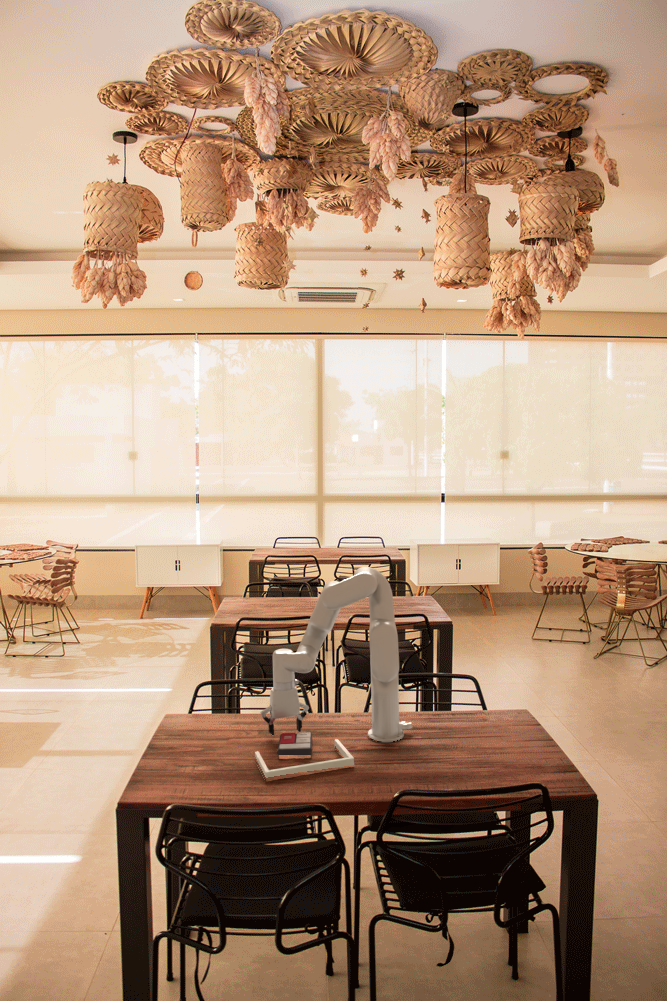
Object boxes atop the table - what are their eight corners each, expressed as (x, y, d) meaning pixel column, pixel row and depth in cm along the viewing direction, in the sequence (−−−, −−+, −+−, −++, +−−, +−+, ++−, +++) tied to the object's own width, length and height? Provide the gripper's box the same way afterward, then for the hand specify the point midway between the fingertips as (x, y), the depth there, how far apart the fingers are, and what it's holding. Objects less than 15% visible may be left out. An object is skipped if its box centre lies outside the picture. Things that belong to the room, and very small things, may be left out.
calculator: (312, 730, 246) (311, 746, 231) (312, 743, 247) (311, 759, 232) (280, 731, 246) (277, 747, 231) (280, 744, 246) (277, 760, 231)
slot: (338, 747, 240) (337, 739, 239) (354, 767, 224) (353, 758, 224) (255, 760, 231) (254, 751, 231) (266, 782, 216) (265, 772, 215)
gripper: (305, 678, 255) (306, 725, 256) (257, 684, 250) (259, 732, 251) (310, 685, 248) (312, 732, 249) (262, 691, 243) (263, 740, 244)
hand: (285, 732), depth 250 cm, fingers open, 9 cm apart
